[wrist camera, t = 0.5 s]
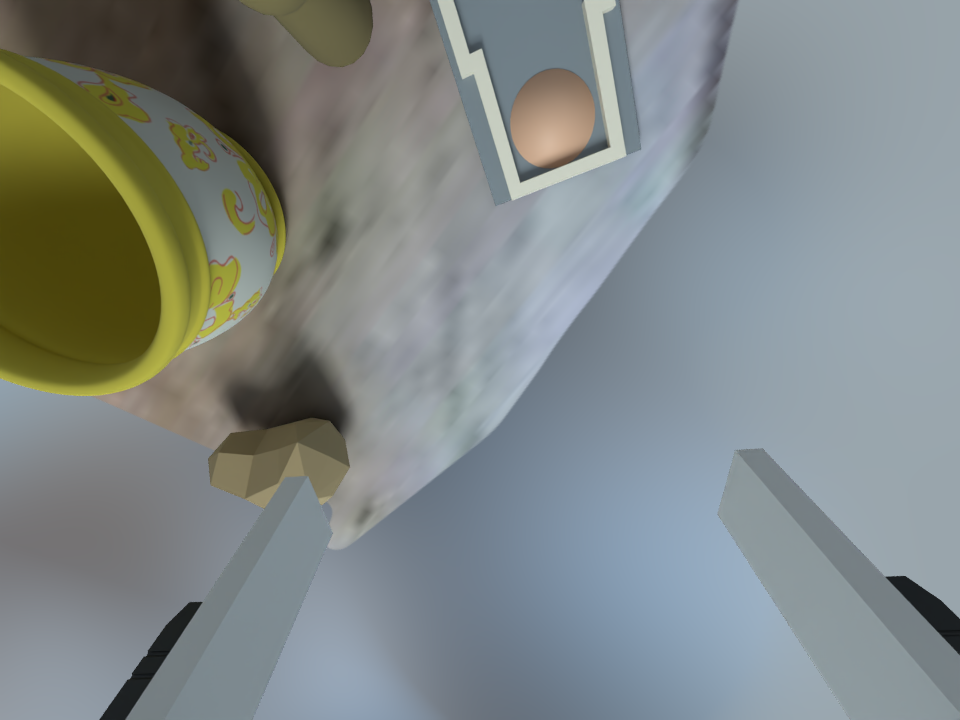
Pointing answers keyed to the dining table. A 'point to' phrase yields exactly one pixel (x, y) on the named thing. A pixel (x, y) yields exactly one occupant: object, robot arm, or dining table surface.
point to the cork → (323, 26)
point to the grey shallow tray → (541, 87)
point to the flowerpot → (119, 228)
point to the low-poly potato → (280, 460)
